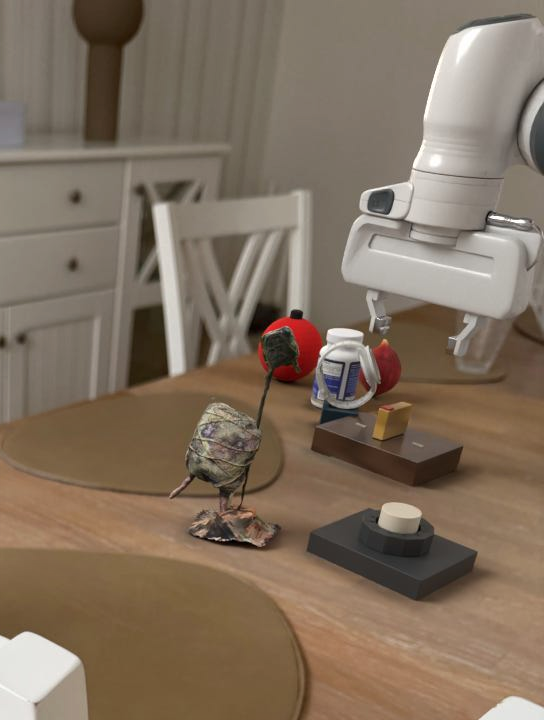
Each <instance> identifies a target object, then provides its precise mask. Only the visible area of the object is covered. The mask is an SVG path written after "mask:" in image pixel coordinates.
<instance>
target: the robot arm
mask: <svg viewBox="0 0 544 720" xmlns="http://www.w3.org/2000/svg"><path fill="white" fill-rule="evenodd" d="M422 124H423V125H422V128H423V133H422V141H421V145H420V148H419V150H418V153H417V155H416V157H415V159H414V160H413V164H412V167H411V172H410V176H409V179H408V180H407V181H401V182H399V181H398V182H395V183H393V184H391V185H390V184H389V185H385V186H381V187H376V188H370V189H367V190H365V191H363V192H362V193H361V195H360V199H359V205H358V207H359V208H358V209H359V210H360V212H361V213H363V214H361V215H359V216H358V217H357V218H356V219H355V221H354V222H353V224H352V225H351V228H350V231H349V234H348V237H347V239H346V245H345V247H344V253H343V256H342V260H341V261H342V263H341V269H340V271H341V274H342V275H341V276H342V277H343V280H344V282H345V283H346V284H350V285H353V286H358V287H363V288H367V292H366V297H365V300H366V303H367V304H366V305H367V307H368V311H369V314H370V322H369V328H368V332H369V333H371V334H372V335H373V334H375V335H378V336H383V335H387V334H388V333H389V332H390V326H391V324H392V319H393V317H391V316H388V315H387V313H386V307H385V302H384V300H387V299H388V298H389V294H391V295H395V296H399V297H404V298H408V299H412V300H415V301H419V302H424V303H428V304H432V305H436V306H441V307H444V308H447V309H453V310H456V311H461V312H464V317H463V321H462V323H464V324H467V325H466V326H465V328H464V329H462V330H461V332H460V333H459V334H456V335H452V336H448V339H447V343H446V344H447V346H446V347H445V351H444V352H445V354H447V355H450V356H453V357H457V358H460V357H461V358H462V357H464V356H465V355H466V354H467V352H468V348H469V345H470V342H471V339H473V338H474V337H475V336H476V335H477V334H478V332H479V331H480V330H481V329H482V328H483V327H485V325H486V324H487V320H488V319H493V320H497V321H508V320H512V319H515V318H518V317H519V316H520V315H521V314H523V313H524V312H525V311H526V310H527V308H528V306H529V302H530V298H531V295H532V294H531V293H532V290H533V289H532V288H533V284H534V279H535V271H536V264H537V263H538V262H539V260H540V257H541V254H542V251H543V248H544V232H543V230H542V228H541V227H540V226H539V225H537V224H536V221H535V220H534V219H532V218H529V217H523V216H522V217H518V216H513V215H510V214H506V213H501V212H497V208H498V205H499V202H500V198H501V194H502V190H503V187H504V184H505V179H506V176H507V173H508V170H509V169H510V168H511V167H513V166H516V165H518V166H519V165H520V166H525V167H527V168H528V169H530V170H531V171H534V173H536V174H538V175H539V176H540V175H541V176H543V177H544V26H543V24H542V23H541V21H540V19H539V17H537V16H536V15H534V14H530V13H522V12H521V13H514V14H505V15H497V16H491V17H483V18H478V19H472V20H470V21H467V22H465V23H464V24H462V25H460V26H458V28H456V29H455V30H454V31H453V32H452V33H451V34H450V36H449V37H448V38H447V41H446V42H445V44H444V46H443V49H442V50H441V54H440V56H439V60H438V62H437V65H436V69H435V72H434V75H433V79H432V82H431V87H430V89H429V94H428V97H427V101H426V105H425V109H424V114H423V121H422ZM533 230H534V231H533Z"/></svg>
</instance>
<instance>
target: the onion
mask: <svg viewBox="0 0 544 720" xmlns="http://www.w3.org/2000/svg"><path fill="white" fill-rule="evenodd" d="M371 350H372V352H373V355H374V358H375V361H376V364H377V367H378V370H379V374H380V379H381V384H377V387H376V392H375V393H374V395H373V396H372V397H371V398H376V397H378V396H381V395H383V394H385V393H387V392H390V390H392V389H395V386H397V385H398V384H399V381H400V380H401V379H400V378H401V375H402V369H403V368H402V362H401V360H400V357H399V356H398V354H397V352H396V351H395V350H394V349H393V347H392V346H391V344H390V343H389V340H388V339H385V338H383V339H382V341H381V343H380V344H379V345H378V346H377V347H375V348H373V349H371ZM358 381H359V383H360V384H361V386H362V387H363V389H364V390H365V391H366V393H368V392H369V391H370V389H371V386H370V385H369V384H368V383H367V381H366V378H365V376H364V373H363V370H362V367H361V369H360V374H359V378H358Z"/></svg>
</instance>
